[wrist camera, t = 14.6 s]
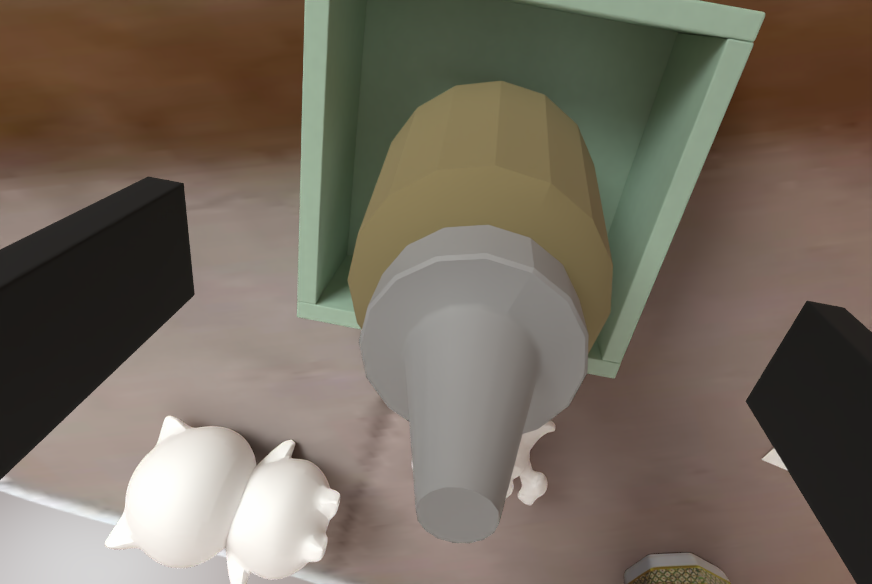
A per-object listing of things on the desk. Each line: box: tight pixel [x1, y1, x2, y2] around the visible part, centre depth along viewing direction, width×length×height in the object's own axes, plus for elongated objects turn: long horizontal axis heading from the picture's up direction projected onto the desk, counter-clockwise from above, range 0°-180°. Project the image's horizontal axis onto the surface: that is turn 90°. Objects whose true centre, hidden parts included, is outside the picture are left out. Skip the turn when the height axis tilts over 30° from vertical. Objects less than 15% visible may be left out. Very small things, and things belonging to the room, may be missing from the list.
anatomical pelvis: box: [412, 421, 555, 505], centre depth 29 cm, size 8×4×7 cm
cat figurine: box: [105, 416, 341, 584], centre depth 32 cm, size 9×11×12 cm
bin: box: [297, 0, 765, 379], centre depth 21 cm, size 14×14×6 cm
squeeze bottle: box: [348, 81, 613, 543], centre depth 15 cm, size 8×8×18 cm
